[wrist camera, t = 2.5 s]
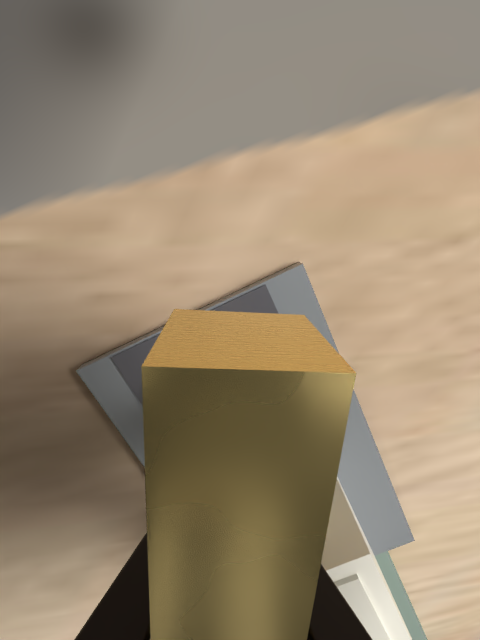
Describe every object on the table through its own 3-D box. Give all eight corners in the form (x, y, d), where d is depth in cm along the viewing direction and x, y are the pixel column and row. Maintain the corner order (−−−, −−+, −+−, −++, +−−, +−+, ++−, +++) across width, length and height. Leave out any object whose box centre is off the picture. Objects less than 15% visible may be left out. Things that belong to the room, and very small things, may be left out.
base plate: (408, 529, 17) (415, 542, 16) (242, 593, 18) (242, 607, 17) (299, 261, 12) (303, 264, 12) (82, 364, 13) (75, 371, 13)
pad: (429, 644, 20) (433, 652, 20) (327, 679, 21) (329, 688, 20) (383, 542, 17) (386, 549, 17) (267, 586, 18) (268, 594, 17)
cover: (374, 555, 17) (437, 695, 12) (279, 591, 17) (302, 740, 12) (321, 443, 14) (372, 559, 9) (214, 488, 15) (209, 620, 10)
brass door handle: (276, 496, 15) (351, 874, 6) (158, 495, 15) (61, 896, 6) (304, 264, 12) (533, 378, 3) (153, 256, 11) (-71, 359, 3)
